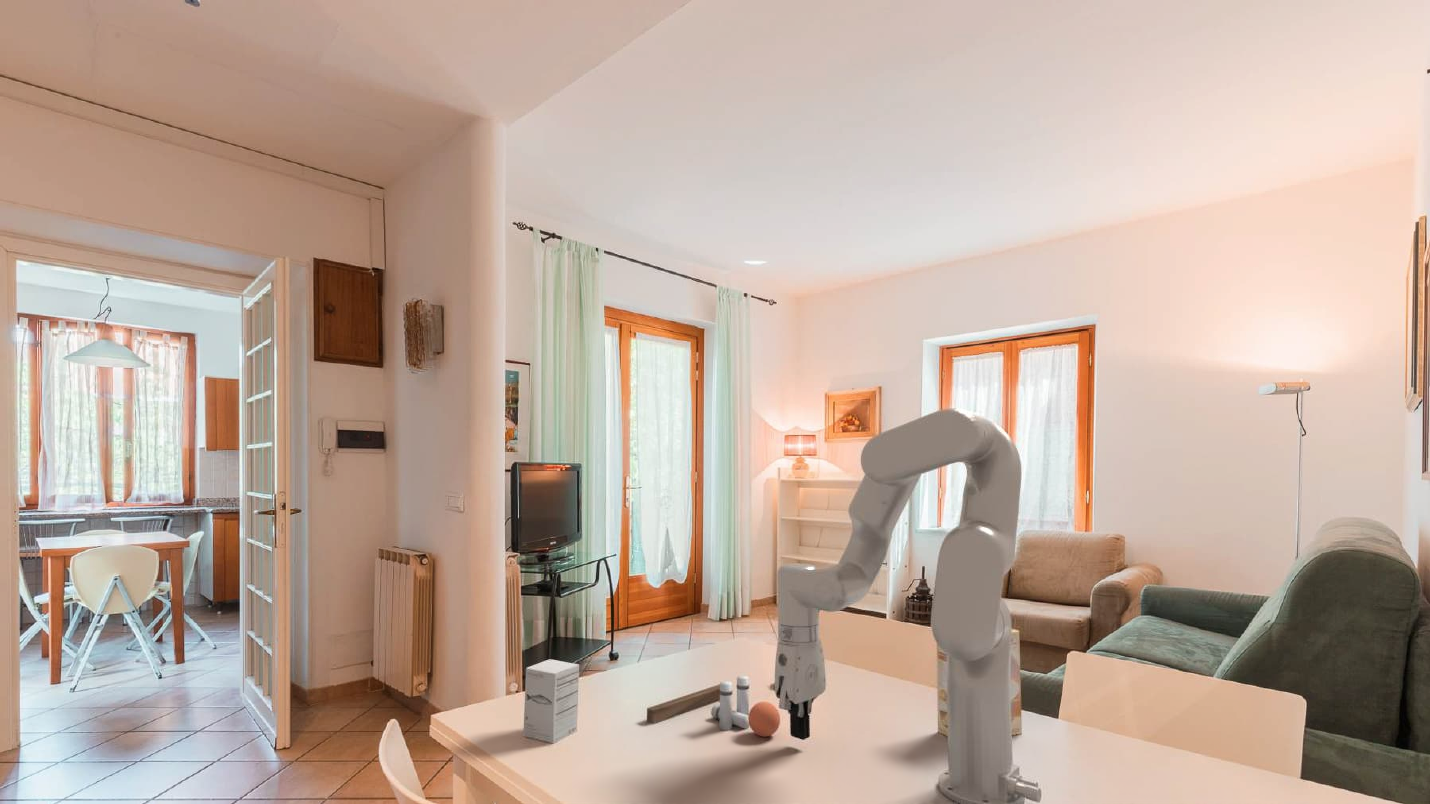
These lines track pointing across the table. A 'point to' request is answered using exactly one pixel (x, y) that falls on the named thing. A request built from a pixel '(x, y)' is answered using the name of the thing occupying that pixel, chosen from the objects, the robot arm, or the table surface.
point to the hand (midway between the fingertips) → (800, 736)
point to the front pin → (737, 717)
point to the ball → (764, 719)
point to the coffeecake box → (1015, 687)
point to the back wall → (683, 704)
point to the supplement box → (551, 700)
